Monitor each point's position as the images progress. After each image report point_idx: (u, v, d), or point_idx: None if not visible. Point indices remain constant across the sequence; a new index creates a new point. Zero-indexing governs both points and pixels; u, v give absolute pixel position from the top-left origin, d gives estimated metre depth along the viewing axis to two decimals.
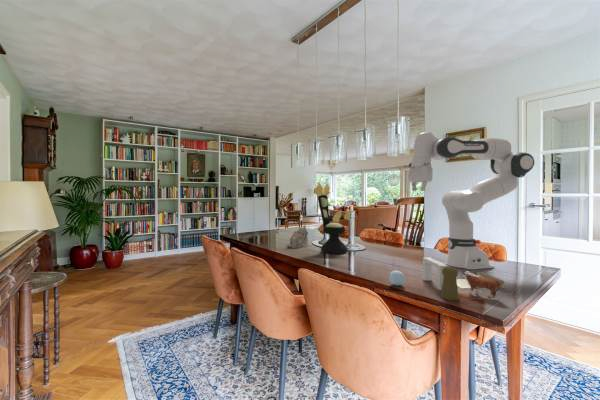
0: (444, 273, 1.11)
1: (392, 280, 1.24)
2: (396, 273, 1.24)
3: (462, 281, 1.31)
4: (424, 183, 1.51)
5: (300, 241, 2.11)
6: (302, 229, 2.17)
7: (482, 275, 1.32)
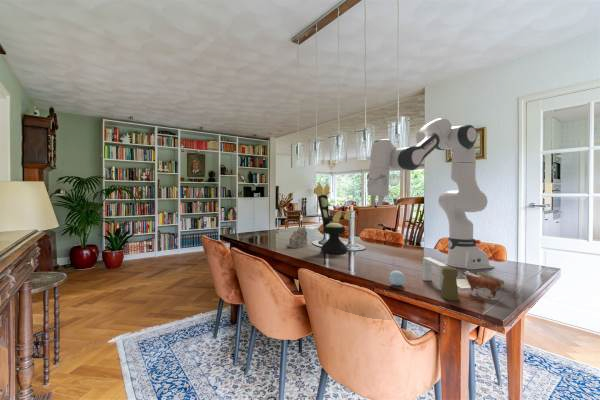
0: (444, 273, 1.11)
1: (392, 280, 1.24)
2: (396, 273, 1.24)
3: (462, 281, 1.31)
4: (380, 198, 1.30)
5: (299, 241, 2.11)
6: (301, 229, 2.18)
7: (482, 275, 1.32)
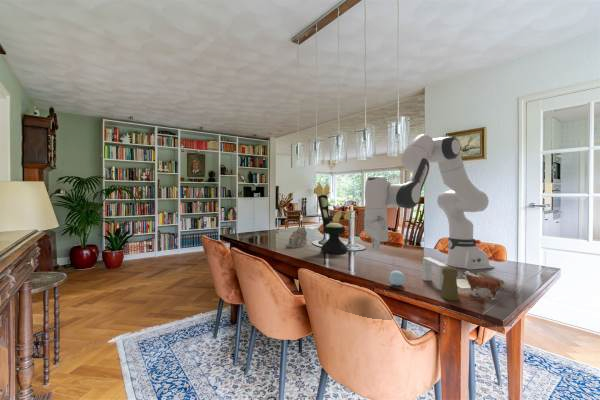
0: (444, 273, 1.11)
1: (392, 280, 1.24)
2: (396, 273, 1.24)
3: (462, 281, 1.31)
4: (377, 241, 1.23)
5: (299, 241, 2.12)
6: (301, 229, 2.18)
7: (482, 275, 1.32)
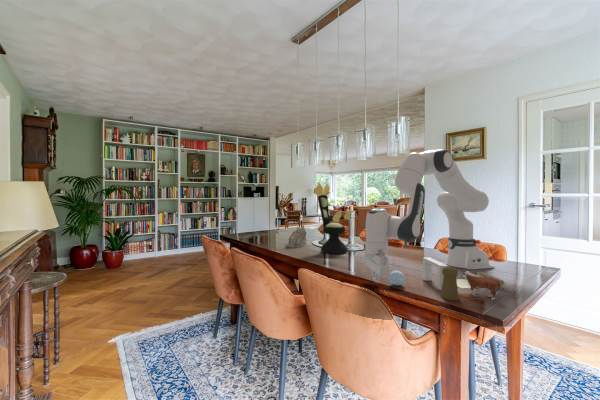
0: (444, 273, 1.11)
1: (392, 280, 1.24)
2: (396, 273, 1.24)
3: (462, 281, 1.31)
4: (377, 274, 1.23)
5: (299, 241, 2.12)
6: (300, 229, 2.18)
7: (482, 275, 1.32)
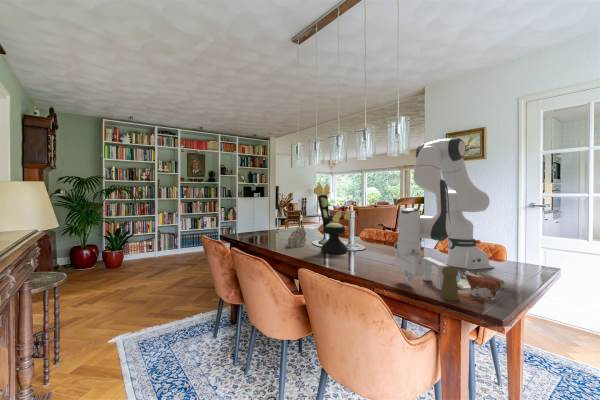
0: (444, 273, 1.11)
1: None
2: (459, 275, 1.26)
3: (462, 281, 1.31)
4: (410, 273, 1.24)
5: (298, 241, 2.12)
6: (300, 229, 2.18)
7: (482, 275, 1.32)
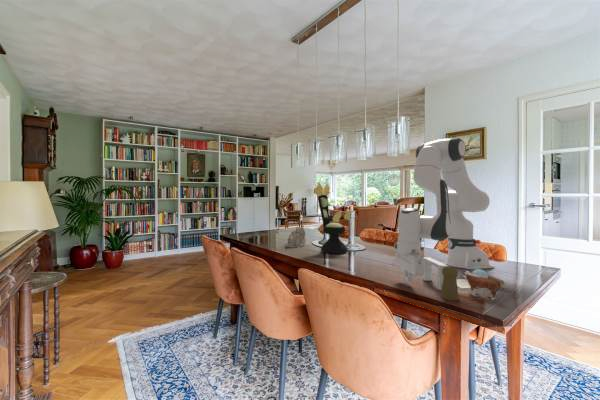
0: (444, 273, 1.11)
1: None
2: None
3: (462, 281, 1.31)
4: (410, 273, 1.24)
5: (298, 241, 2.12)
6: (300, 229, 2.18)
7: None
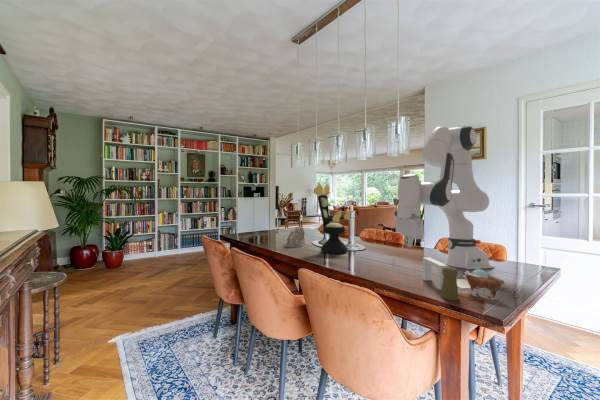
0: (444, 273, 1.11)
1: None
2: None
3: (462, 281, 1.31)
4: (410, 238, 1.25)
5: (297, 241, 2.12)
6: (299, 229, 2.19)
7: None
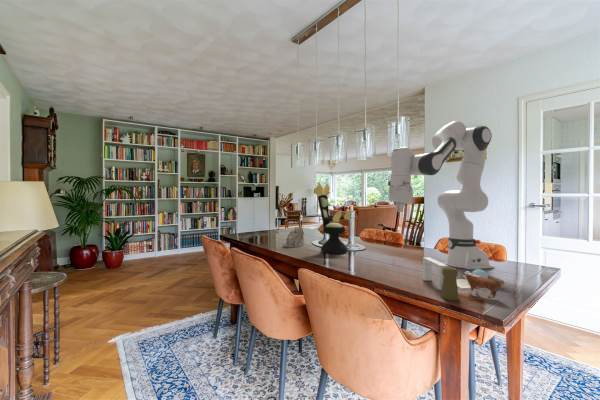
0: (444, 273, 1.11)
1: None
2: None
3: (462, 281, 1.31)
4: (402, 204, 1.40)
5: (296, 241, 2.13)
6: (298, 229, 2.19)
7: None
